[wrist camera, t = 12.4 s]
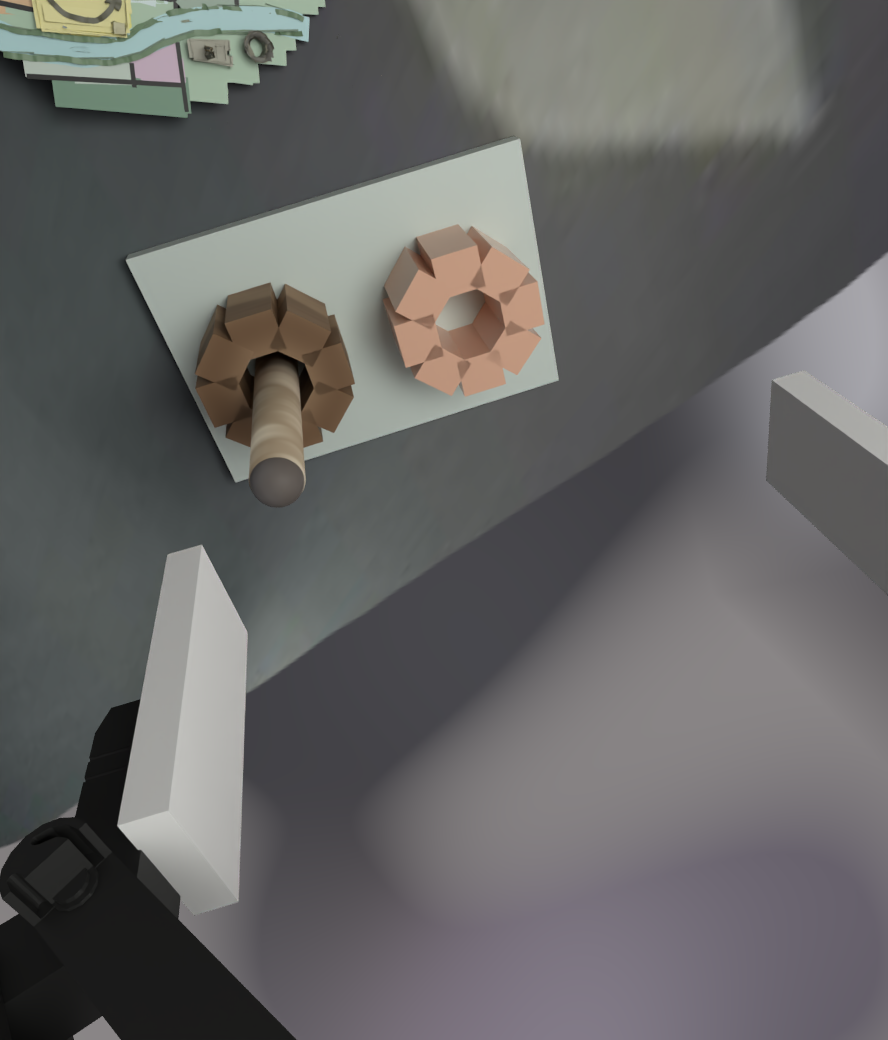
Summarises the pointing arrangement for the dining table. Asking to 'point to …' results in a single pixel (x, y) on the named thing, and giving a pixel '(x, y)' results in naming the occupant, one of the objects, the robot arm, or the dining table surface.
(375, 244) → the board
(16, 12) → the city model
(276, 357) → the wooden dowel rod
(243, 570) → the dining table surface
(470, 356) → the terracotta bead
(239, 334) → the walnut bead
